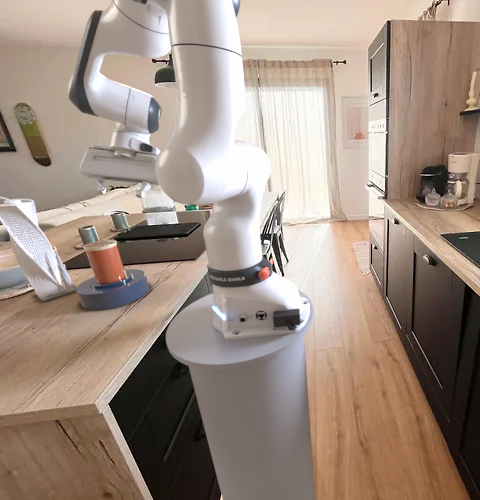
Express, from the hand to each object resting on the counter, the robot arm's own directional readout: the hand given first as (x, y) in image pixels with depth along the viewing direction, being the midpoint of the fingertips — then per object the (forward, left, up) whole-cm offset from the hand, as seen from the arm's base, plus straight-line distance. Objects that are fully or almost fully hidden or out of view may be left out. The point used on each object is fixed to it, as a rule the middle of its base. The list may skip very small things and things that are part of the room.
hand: (120, 195), depth 79 cm
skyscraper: (+21, +8, -26) cm, 35 cm away
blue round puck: (+2, +9, -26) cm, 28 cm away
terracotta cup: (+2, +9, -21) cm, 23 cm away
